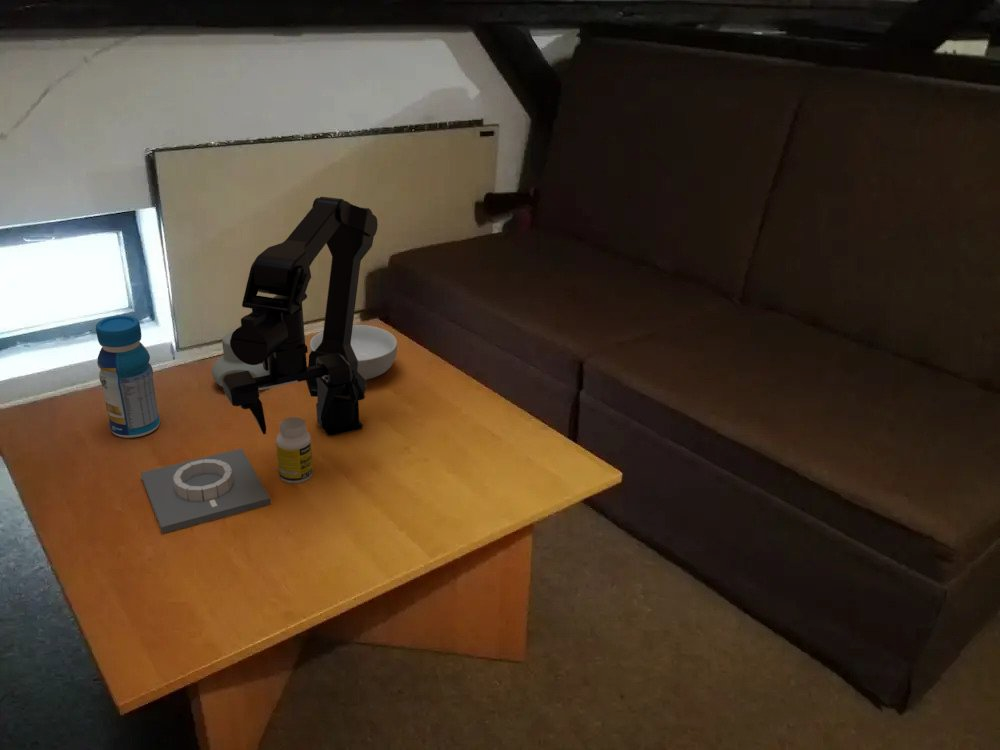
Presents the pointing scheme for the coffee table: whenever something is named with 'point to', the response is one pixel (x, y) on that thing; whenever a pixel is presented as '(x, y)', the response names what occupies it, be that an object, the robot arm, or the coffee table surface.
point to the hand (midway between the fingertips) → (292, 426)
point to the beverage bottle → (126, 377)
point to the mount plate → (204, 490)
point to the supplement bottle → (294, 451)
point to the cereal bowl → (368, 349)
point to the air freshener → (233, 364)
